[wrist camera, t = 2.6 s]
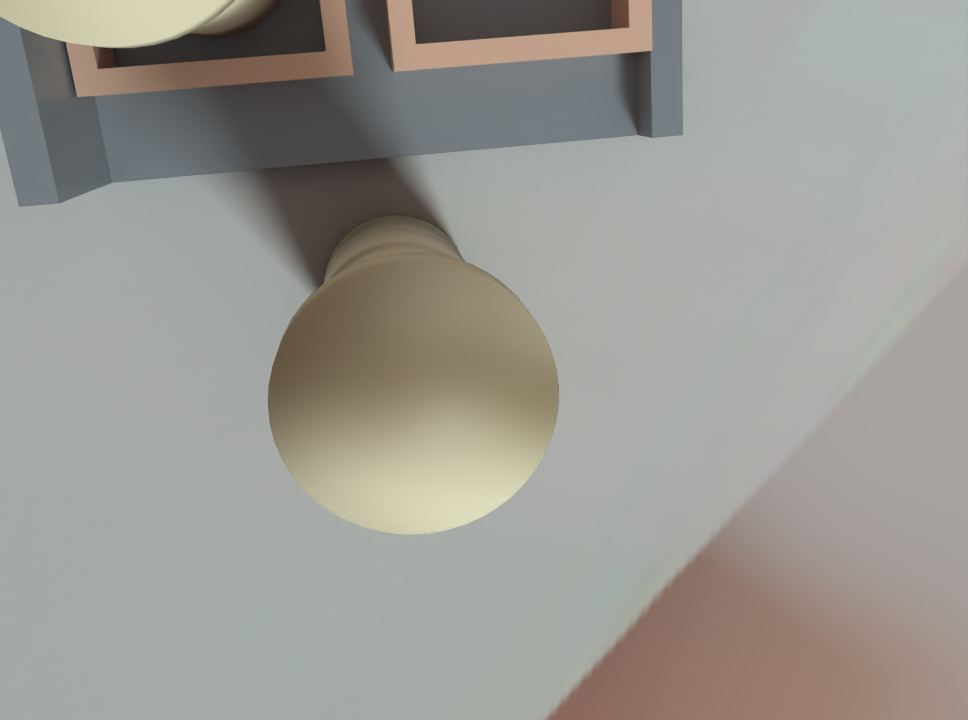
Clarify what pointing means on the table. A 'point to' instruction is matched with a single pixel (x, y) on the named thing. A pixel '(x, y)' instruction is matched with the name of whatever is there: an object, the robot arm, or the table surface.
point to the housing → (318, 82)
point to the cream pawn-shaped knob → (411, 384)
